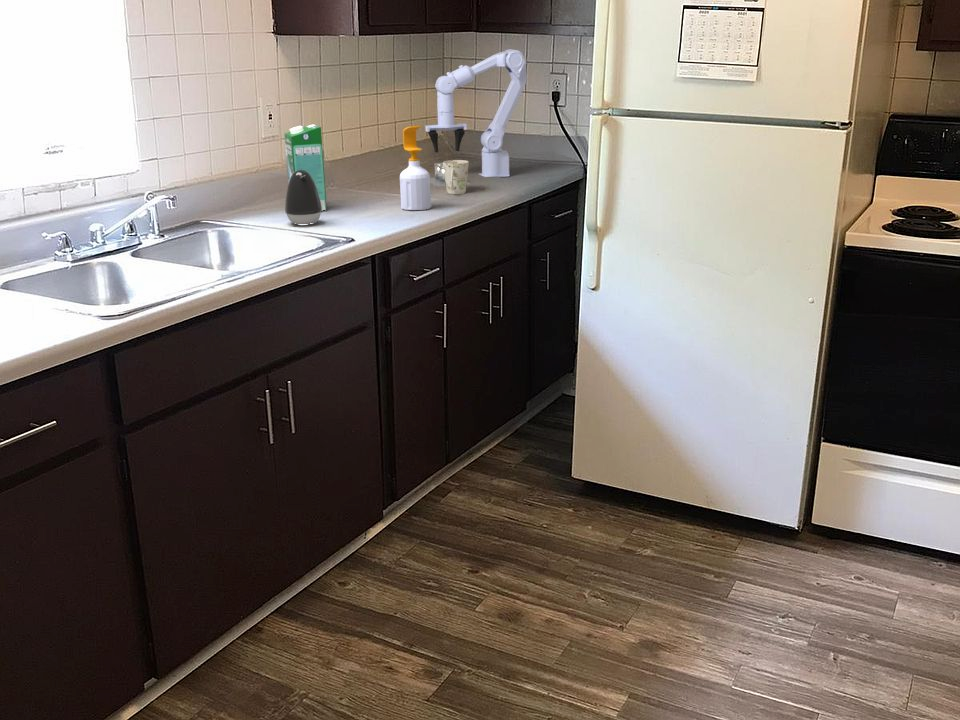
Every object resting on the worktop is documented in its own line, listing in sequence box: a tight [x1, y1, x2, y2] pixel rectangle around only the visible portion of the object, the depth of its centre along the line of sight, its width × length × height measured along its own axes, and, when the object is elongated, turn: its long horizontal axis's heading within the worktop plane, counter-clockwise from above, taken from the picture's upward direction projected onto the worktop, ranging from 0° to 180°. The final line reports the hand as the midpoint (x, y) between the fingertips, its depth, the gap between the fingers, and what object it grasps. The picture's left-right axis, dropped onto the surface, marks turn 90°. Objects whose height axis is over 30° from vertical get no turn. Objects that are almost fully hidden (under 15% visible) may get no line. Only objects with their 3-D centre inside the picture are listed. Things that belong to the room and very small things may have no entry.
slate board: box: [430, 177, 471, 187], centre depth 338 cm, size 12×18×1 cm, turn 18°
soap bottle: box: [399, 125, 432, 211], centre depth 291 cm, size 9×9×25 cm
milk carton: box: [284, 123, 328, 211], centre depth 291 cm, size 9×9×25 cm
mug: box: [442, 159, 470, 195], centre depth 316 cm, size 8×13×10 cm, turn 174°
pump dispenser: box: [284, 170, 322, 224], centre depth 274 cm, size 10×10×15 cm
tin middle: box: [439, 165, 445, 182], centre depth 337 cm, size 5×5×5 cm
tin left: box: [433, 162, 443, 179], centre depth 343 cm, size 5×5×5 cm
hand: (446, 151), depth 344 cm, fingers open, 7 cm apart
